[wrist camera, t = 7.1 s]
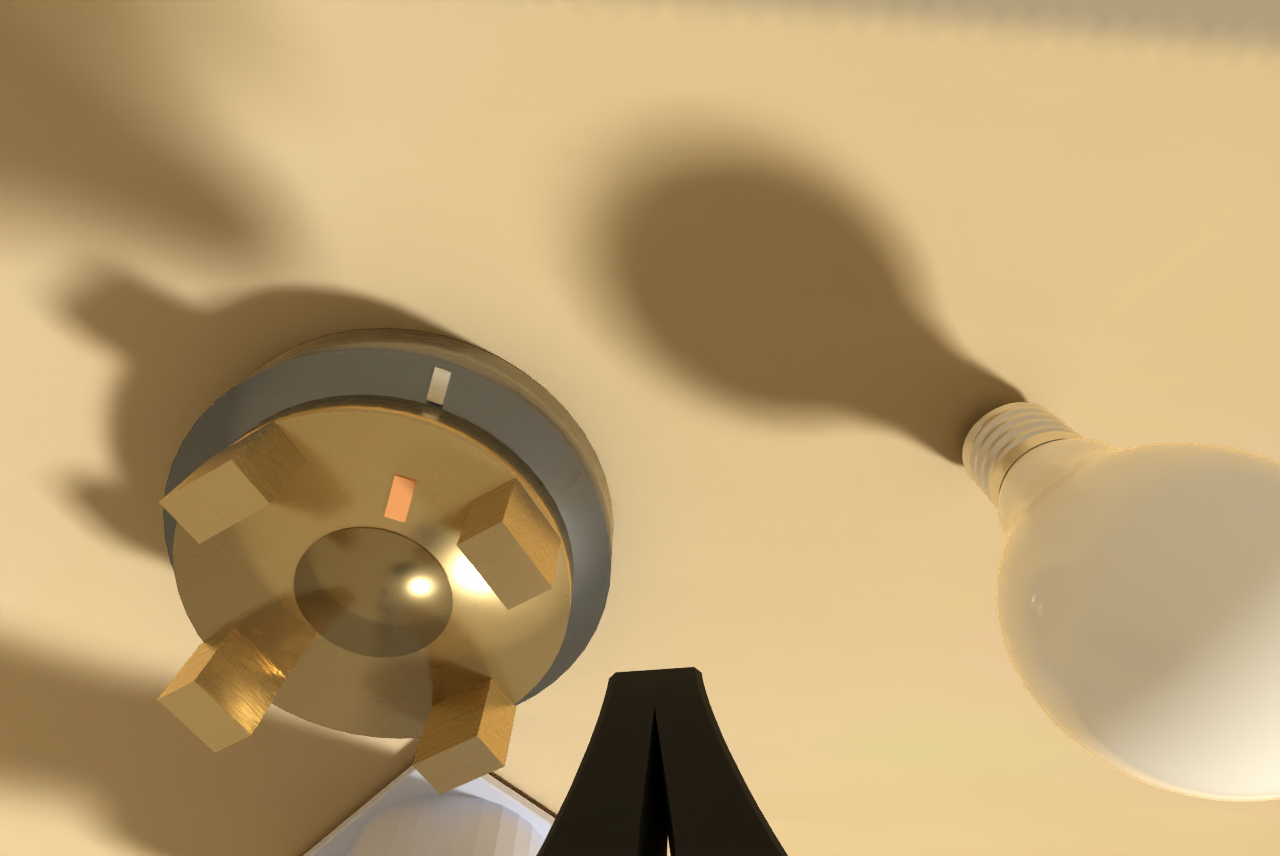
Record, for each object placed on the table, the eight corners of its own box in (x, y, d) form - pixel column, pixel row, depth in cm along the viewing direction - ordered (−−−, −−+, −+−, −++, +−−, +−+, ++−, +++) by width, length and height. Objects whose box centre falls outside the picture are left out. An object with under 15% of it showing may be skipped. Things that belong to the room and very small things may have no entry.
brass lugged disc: (153, 620, 21) (76, 705, 18) (270, 321, 18) (198, 367, 15) (478, 752, 23) (455, 847, 20) (641, 507, 20) (642, 581, 17)
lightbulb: (843, 425, 21) (1028, 730, 11) (1048, 279, 19) (1484, 483, 9) (960, 569, 23) (1208, 937, 13) (1156, 447, 21) (1609, 762, 11)
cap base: (441, 736, 26) (425, 787, 24) (124, 523, 22) (76, 564, 20) (696, 523, 22) (702, 564, 21) (368, 232, 19) (339, 249, 17)
